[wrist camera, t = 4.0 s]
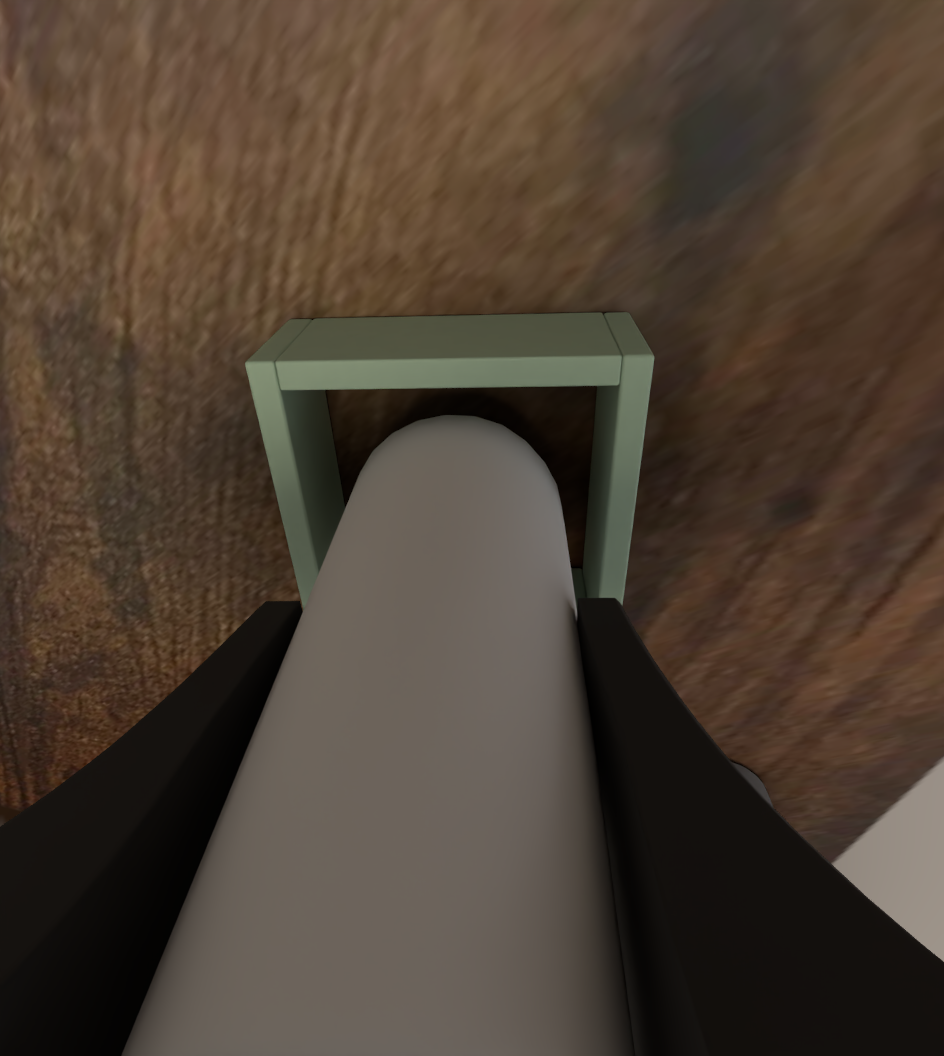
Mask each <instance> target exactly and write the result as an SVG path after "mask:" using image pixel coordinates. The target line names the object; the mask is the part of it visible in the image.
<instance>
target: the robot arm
mask: <svg viewBox="0 0 944 1056" xmlns="http://www.w3.org/2000/svg"><path fill="white" fill-rule="evenodd" d="M302 613H303V611H302V608H301V604H300V601H266V602H265V603H264V604H263V605H262V606H261V607H259V608H258V609H257V610H256V611H255V612H254V613H253V614H252V615H251V616H250V617H249V618H248V619H247V620H246V621H245V622H244V623H243V624H242V625H241V626H240V627H239V628H238V629H237V630H236V631H235V632H234V633H233V634H232V635H231V636H230V637H229V638H228V639H227V640H226V641H225V642H224V643H223V644H222V645H221V646H220V647H219V648H218V649H217V650H216V651H215V652H214V653H213V654H212V655H211V656H210V657H209V658H208V659H207V660H206V661H204V662H203V663H202V664H201V665H200V666H199V667H198V668H197V669H196V670H195V671H194V672H193V673H192V674H191V675H190V676H189V677H188V678H187V679H186V680H185V681H184V682H183V683H182V684H181V685H179V686H178V687H177V688H176V689H175V690H174V691H173V692H172V693H171V694H170V695H168V696H167V697H166V698H165V699H164V700H163V701H162V702H161V703H159V704H158V705H157V706H156V707H155V708H154V709H153V710H151V711H150V712H149V713H148V714H147V715H146V716H145V717H144V718H142V719H141V720H140V721H139V722H138V723H137V724H136V725H135V726H133V727H132V728H131V729H130V730H129V731H128V732H127V733H125V734H124V735H123V736H122V737H121V738H119V739H118V740H117V741H116V742H115V743H113V744H112V745H111V746H110V747H109V748H107V749H106V750H105V751H104V752H102V753H101V754H100V755H99V756H97V757H96V758H95V759H94V760H92V761H91V762H90V763H88V764H87V765H86V766H84V767H83V768H82V769H81V770H79V771H78V772H77V773H75V774H74V775H73V776H71V777H70V778H69V779H67V780H66V781H65V782H63V783H62V784H61V785H60V786H58V787H57V788H55V789H54V790H53V791H51V792H50V793H49V794H47V795H46V796H44V797H43V798H42V799H40V800H39V801H37V802H36V803H34V804H33V805H31V806H30V807H28V808H27V809H25V810H24V811H23V812H21V813H20V814H18V815H17V816H15V817H14V818H13V819H11V820H9V821H8V822H6V823H5V824H4V825H2V826H1V827H0V1056H121V1055H122V1053H123V1050H124V1048H125V1045H126V1043H127V1040H128V1038H129V1036H130V1033H131V1031H132V1028H133V1026H134V1023H135V1021H136V1018H137V1016H138V1014H139V1011H140V1009H141V1006H142V1004H143V1001H144V999H145V997H146V994H147V992H148V989H149V987H150V984H151V982H152V979H153V977H154V975H155V972H156V970H157V967H158V965H159V962H160V960H161V957H162V955H163V953H164V950H165V948H166V945H167V943H168V940H169V938H170V935H171V933H172V931H173V928H174V926H175V923H176V921H177V918H178V916H179V913H180V911H181V909H182V906H183V904H184V901H185V899H186V896H187V894H188V891H189V889H190V887H191V884H192V882H193V879H194V877H195V874H196V872H197V869H198V867H199V865H200V862H201V860H202V857H203V855H204V852H205V850H206V847H207V845H208V843H209V840H210V838H211V835H212V833H213V830H214V828H215V826H216V823H217V821H218V818H219V816H220V813H221V811H222V808H223V806H224V804H225V801H226V799H227V796H228V794H229V791H230V789H231V786H232V784H233V782H234V779H235V777H236V774H237V772H238V769H239V767H240V764H241V762H242V760H243V757H244V755H245V752H246V750H247V747H248V745H249V742H250V740H251V738H252V735H253V733H254V730H255V728H256V725H257V723H258V720H259V718H260V716H261V713H262V711H263V708H264V706H265V703H266V701H267V698H268V696H269V694H270V691H271V689H272V686H273V684H274V681H275V679H276V677H277V674H278V672H279V669H280V667H281V664H282V662H283V659H284V657H285V655H286V652H287V650H288V647H289V645H290V642H291V640H292V637H293V635H294V633H295V630H296V628H297V625H298V623H299V620H300V618H301V615H302ZM577 628H578V635H579V642H580V649H581V657H582V664H583V670H584V677H585V683H586V689H587V696H588V702H589V709H590V715H591V722H592V728H593V736H594V743H595V751H596V758H597V766H598V774H599V781H600V789H601V797H602V804H603V812H604V820H605V827H606V835H607V843H608V850H609V858H610V865H611V873H612V881H613V888H614V896H615V904H616V911H617V919H618V927H619V934H620V942H621V950H622V957H623V965H624V973H625V980H626V988H627V995H628V1003H629V1011H630V1018H631V1026H632V1034H633V1041H634V1049H635V1056H944V962H943V961H942V960H941V959H940V958H938V957H937V956H936V955H935V954H933V953H932V952H931V951H930V950H928V949H927V948H926V947H925V946H924V945H922V944H921V943H920V942H919V941H917V940H916V939H915V938H914V937H913V936H912V935H910V934H909V933H908V932H907V931H906V930H905V929H904V928H902V927H901V926H900V925H899V924H898V923H896V922H895V921H894V920H893V919H892V918H891V917H889V916H888V915H887V914H886V913H885V912H884V911H882V910H881V909H880V908H879V907H878V906H877V905H875V904H874V903H873V902H872V901H871V900H870V899H868V898H867V897H866V896H865V895H864V894H863V893H862V892H861V891H860V890H859V889H858V888H857V887H855V886H854V885H853V884H852V883H851V882H850V881H849V880H848V879H847V878H846V877H845V876H844V875H842V874H841V873H840V872H839V871H838V870H837V869H836V868H835V867H834V866H833V865H832V864H831V863H830V862H829V861H828V860H826V859H825V858H824V857H823V856H822V855H821V854H820V853H819V852H818V851H817V850H816V849H815V848H814V847H812V846H811V845H810V844H809V843H808V842H807V841H806V840H805V839H804V838H803V837H802V836H801V835H800V834H799V833H798V832H797V831H796V830H795V829H794V828H793V827H792V826H791V825H790V824H789V823H788V822H787V821H786V820H785V819H784V818H783V817H782V816H781V815H780V814H779V813H778V812H777V811H776V810H775V809H774V808H773V807H772V806H771V805H770V804H769V803H768V802H767V801H766V800H765V799H764V798H763V796H762V795H761V794H760V793H759V792H758V791H757V790H756V789H755V788H754V787H753V786H752V784H751V783H750V782H749V781H748V780H747V779H746V778H745V777H744V776H743V775H742V774H741V772H740V771H739V770H738V769H737V768H736V767H735V766H734V764H733V763H732V762H731V761H730V760H729V759H728V757H727V756H726V755H725V754H724V753H723V752H722V750H721V749H720V748H719V747H718V746H717V744H716V743H715V742H714V741H713V739H712V738H711V737H710V736H709V734H708V733H707V732H706V731H705V729H704V728H703V727H702V726H701V724H700V723H699V722H698V721H697V719H696V718H695V717H694V715H693V714H692V713H691V711H690V710H689V709H688V708H687V706H686V705H685V704H684V702H683V701H682V699H681V698H680V697H679V695H678V694H677V692H676V691H675V690H674V688H673V687H672V685H671V684H670V683H669V681H668V680H667V678H666V677H665V676H664V674H663V673H662V671H661V670H660V668H659V667H658V665H657V664H656V662H655V661H654V659H653V658H652V656H651V655H650V653H649V652H648V650H647V648H646V647H645V645H644V644H643V642H642V640H641V639H640V637H639V635H638V634H637V632H636V630H635V629H634V627H633V625H632V623H631V622H630V620H629V618H628V616H627V614H626V613H625V611H624V609H623V607H622V605H621V603H620V602H619V601H618V600H617V599H616V598H578V606H577Z"/></svg>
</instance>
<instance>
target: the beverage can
mask: <svg viewBox="0 0 944 1056" xmlns="http://www.w3.org/2000/svg"><path fill="white" fill-rule="evenodd" d="M121 1056H635V1049H634V1041H633V1034H632V1026H631V1018H630V1011H629V1003H628V995H627V988H626V980H625V973H624V965H623V957H622V950H621V942H620V934H619V927H618V919H617V911H616V904H615V896H614V888H613V881H612V873H611V865H610V858H609V850H608V843H607V835H606V827H605V820H604V812H603V804H602V797H601V789H600V781H599V774H598V766H597V758H596V751H595V743H594V736H593V728H592V722H591V715H590V709H589V702H588V696H587V689H586V683H585V677H584V670H583V664H582V657H581V649H580V642H579V635H578V628H577V608H576V601H575V594H574V586H573V579H572V572H571V565H570V558H569V552H568V545H567V538H566V531H565V524H564V517H563V511H562V505H561V501H560V496H559V492H558V487H557V484H556V482H555V480H554V478H553V477H552V475H551V473H550V471H549V469H548V467H547V465H546V464H545V462H544V461H543V460H542V459H541V457H540V456H539V455H538V454H537V453H536V452H535V451H534V450H533V448H532V447H531V446H530V445H529V444H528V443H527V442H526V441H525V440H524V439H522V438H521V437H519V436H518V435H517V434H515V433H514V432H512V431H511V430H509V429H508V428H506V427H505V426H503V425H501V424H498V423H495V422H492V421H489V420H485V419H482V418H479V417H476V416H460V415H442V416H437V417H433V418H428V419H423V420H418V421H416V422H414V423H412V424H410V425H408V426H406V427H404V428H402V429H400V430H398V431H395V432H393V433H392V434H391V435H390V436H388V437H387V438H386V439H385V440H384V441H383V442H382V443H381V444H380V445H379V446H378V447H377V448H375V449H374V450H373V451H372V453H371V455H370V456H369V458H368V460H367V461H366V463H365V465H364V467H363V468H362V470H361V472H360V474H359V476H358V479H357V481H356V484H355V486H354V488H353V491H352V493H351V496H350V498H349V501H348V503H347V506H346V508H345V510H344V513H343V515H342V518H341V520H340V523H339V525H338V527H337V530H336V532H335V535H334V537H333V540H332V542H331V545H330V547H329V549H328V552H327V554H326V557H325V559H324V562H323V564H322V567H321V569H320V571H319V574H318V576H317V579H316V581H315V584H314V586H313V589H312V591H311V593H310V596H309V598H308V601H307V603H306V606H305V608H304V611H303V613H302V615H301V618H300V620H299V623H298V625H297V628H296V630H295V633H294V635H293V637H292V640H291V642H290V645H289V647H288V650H287V652H286V655H285V657H284V659H283V662H282V664H281V667H280V669H279V672H278V674H277V677H276V679H275V681H274V684H273V686H272V689H271V691H270V694H269V696H268V698H267V701H266V703H265V706H264V708H263V711H262V713H261V716H260V718H259V720H258V723H257V725H256V728H255V730H254V733H253V735H252V738H251V740H250V742H249V745H248V747H247V750H246V752H245V755H244V757H243V760H242V762H241V764H240V767H239V769H238V772H237V774H236V777H235V779H234V782H233V784H232V786H231V789H230V791H229V794H228V796H227V799H226V801H225V804H224V806H223V808H222V811H221V813H220V816H219V818H218V821H217V823H216V826H215V828H214V830H213V833H212V835H211V838H210V840H209V843H208V845H207V847H206V850H205V852H204V855H203V857H202V860H201V862H200V865H199V867H198V869H197V872H196V874H195V877H194V879H193V882H192V884H191V887H190V889H189V891H188V894H187V896H186V899H185V901H184V904H183V906H182V909H181V911H180V913H179V916H178V918H177V921H176V923H175V926H174V928H173V931H172V933H171V935H170V938H169V940H168V943H167V945H166V948H165V950H164V953H163V955H162V957H161V960H160V962H159V965H158V967H157V970H156V972H155V975H154V977H153V979H152V982H151V984H150V987H149V989H148V992H147V994H146V997H145V999H144V1001H143V1004H142V1006H141V1009H140V1011H139V1014H138V1016H137V1018H136V1021H135V1023H134V1026H133V1028H132V1031H131V1033H130V1036H129V1038H128V1040H127V1043H126V1045H125V1048H124V1050H123V1053H122V1055H121Z"/></svg>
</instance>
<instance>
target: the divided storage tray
mask: <svg viewBox="0 0 944 1056" xmlns="http://www.w3.org/2000/svg"><path fill="white" fill-rule="evenodd" d="M653 365H654V355H653V353H652V351H651V350H650V348H649V346H648V344H647V343H646V341H645V339H644V338H643V336H642V334H641V333H640V331H639V329H638V327H637V326H636V324H635V322H634V321H633V319H632V317H631V316H630V314H629V313H628V312H613V313H604V315H603V314H602V313H601V312H600V313H553V314H505V315H458V316H411V317H363V318H316V319H314V320H312V319H290V320H288V321H287V322H286V323H285V324H284V325H283V326H282V327H281V328H280V329H279V330H278V331H277V332H276V333H275V334H274V335H273V336H272V337H271V338H270V339H269V340H268V341H267V342H266V343H265V344H264V345H263V346H262V347H260V348H259V349H258V350H257V351H256V352H255V353H254V354H253V355H252V356H251V357H250V358H249V359H248V360H247V361H246V363H245V366H246V370H247V374H248V378H249V383H250V387H251V391H252V395H253V399H254V404H255V408H256V412H257V416H258V420H259V424H260V429H261V433H262V437H263V441H264V445H265V450H266V454H267V458H268V462H269V466H270V471H271V475H272V479H273V483H274V487H275V492H276V496H277V500H278V504H279V508H280V513H281V517H282V521H283V525H284V529H285V534H286V538H287V542H288V546H289V550H290V554H291V559H292V563H293V567H294V571H295V575H296V580H297V584H298V588H299V592H300V596H301V601H302V605H303V609H304V608H305V606H306V603H307V601H308V598H309V596H310V593H311V591H312V589H313V586H314V584H315V581H316V579H317V576H318V574H319V571H320V569H321V567H322V564H323V562H324V559H325V557H326V554H327V552H328V549H329V547H330V545H331V542H332V540H333V537H334V535H335V532H336V530H337V527H338V525H339V523H340V520H341V518H342V515H343V513H344V510H345V504H344V498H343V492H342V486H341V481H340V475H339V469H338V463H337V457H336V451H335V445H334V440H333V434H332V428H331V422H330V416H329V410H328V404H327V398H326V393H325V390H343V389H412V388H481V387H550V386H597V395H596V407H595V420H594V432H593V445H592V457H591V470H590V482H589V495H588V507H587V520H586V532H585V545H584V557H583V570H582V569H580V568H571V572H572V579H573V586H574V594H575V601H576V608H577V606H578V598H616V599H617V600H618V601H619V602H620V603H621V605H623V597H624V589H625V582H626V574H627V566H628V558H629V551H630V543H631V535H632V527H633V520H634V512H635V504H636V496H637V489H638V481H639V473H640V466H641V458H642V450H643V442H644V435H645V427H646V419H647V411H648V404H649V396H650V388H651V380H652V373H653Z"/></svg>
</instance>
